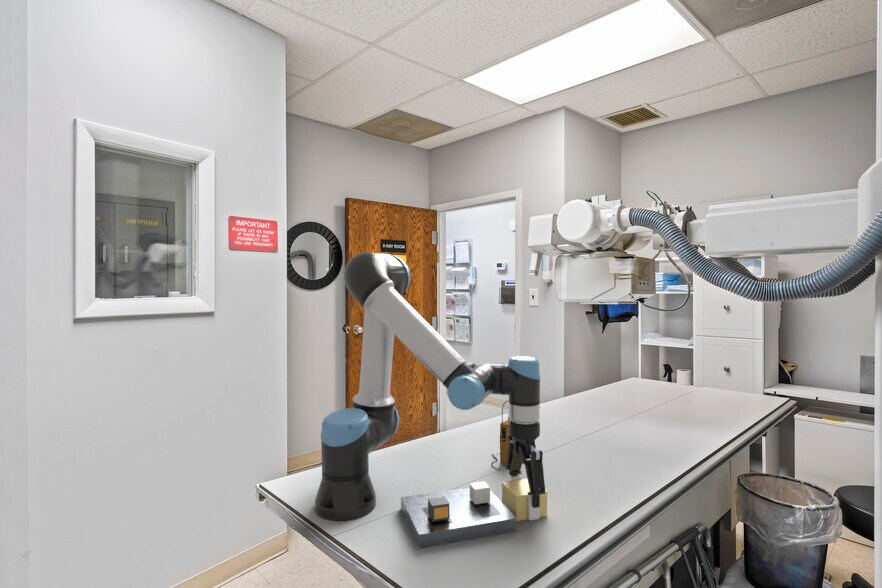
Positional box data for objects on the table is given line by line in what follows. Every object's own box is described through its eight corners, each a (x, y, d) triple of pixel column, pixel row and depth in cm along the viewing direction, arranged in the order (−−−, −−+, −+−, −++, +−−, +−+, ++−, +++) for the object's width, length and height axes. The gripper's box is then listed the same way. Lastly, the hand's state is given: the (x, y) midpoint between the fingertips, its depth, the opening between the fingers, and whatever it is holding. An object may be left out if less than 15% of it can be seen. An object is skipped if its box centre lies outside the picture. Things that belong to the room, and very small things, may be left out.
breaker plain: (474, 504, 113) (474, 489, 113) (469, 497, 116) (469, 483, 116) (490, 501, 114) (490, 487, 114) (484, 495, 118) (484, 481, 117)
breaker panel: (419, 548, 101) (419, 534, 100) (401, 509, 118) (400, 497, 118) (516, 531, 107) (516, 518, 107) (486, 496, 125) (486, 484, 124)
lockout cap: (516, 521, 112) (516, 496, 111) (501, 505, 119) (502, 482, 119) (547, 516, 114) (547, 491, 114) (530, 500, 122) (531, 477, 122)
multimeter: (499, 449, 158) (499, 390, 158) (525, 456, 152) (525, 395, 151) (473, 462, 147) (473, 399, 146) (501, 471, 141) (501, 405, 140)
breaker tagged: (432, 522, 105) (432, 506, 105) (428, 514, 108) (427, 498, 108) (449, 519, 106) (449, 503, 106) (444, 511, 110) (444, 496, 109)
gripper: (561, 431, 107) (561, 529, 108) (518, 407, 127) (518, 489, 128) (531, 435, 105) (531, 534, 105) (492, 409, 125) (493, 493, 126)
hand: (524, 509), depth 117 cm, fingers open, 9 cm apart
